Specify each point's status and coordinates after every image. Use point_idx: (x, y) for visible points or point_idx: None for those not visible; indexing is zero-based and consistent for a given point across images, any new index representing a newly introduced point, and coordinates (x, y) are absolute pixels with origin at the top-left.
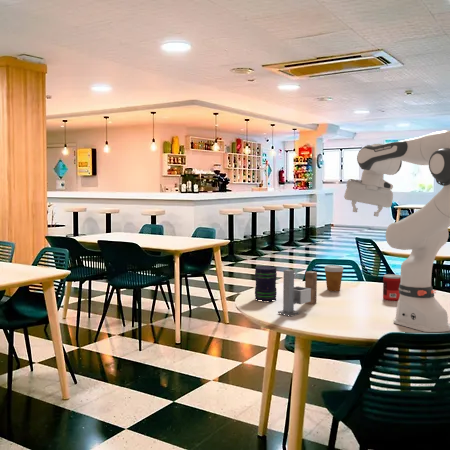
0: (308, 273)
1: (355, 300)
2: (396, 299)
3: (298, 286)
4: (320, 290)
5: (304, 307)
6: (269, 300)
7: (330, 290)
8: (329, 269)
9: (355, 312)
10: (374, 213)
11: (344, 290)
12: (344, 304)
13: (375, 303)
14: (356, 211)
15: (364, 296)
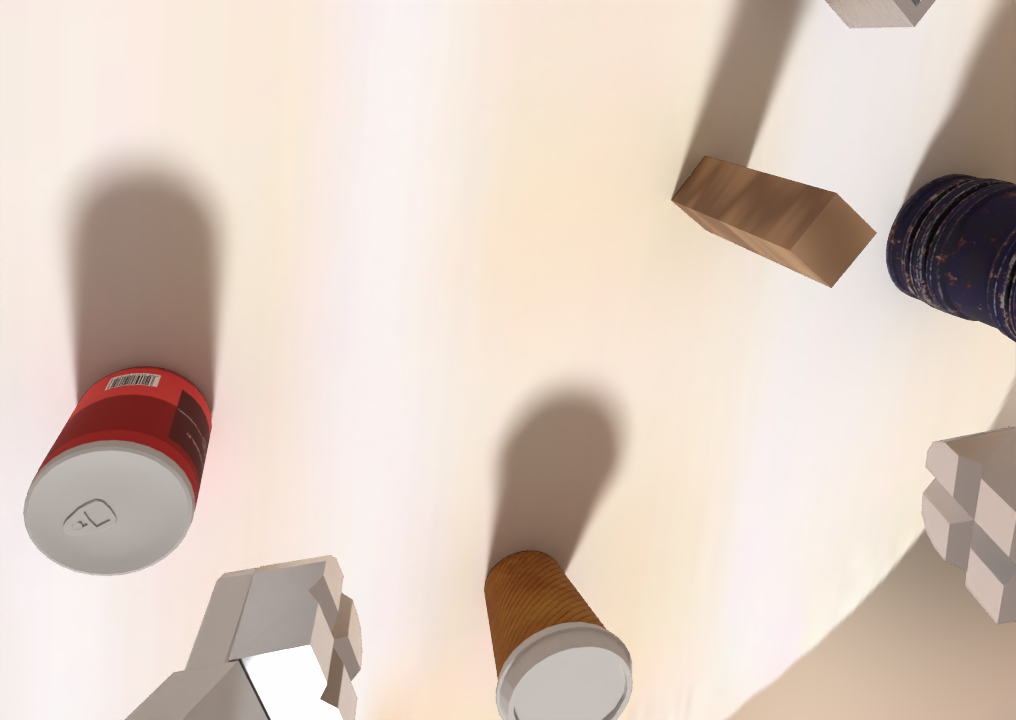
0: (852, 212)
1: (410, 329)
2: (110, 375)
3: (908, 15)
4: (600, 557)
5: (760, 61)
6: (939, 184)
7: (545, 555)
8: (604, 636)
9: None
10: (345, 671)
11: (455, 595)
12: (496, 193)
13: (275, 263)
14: (968, 435)
15: (339, 461)
